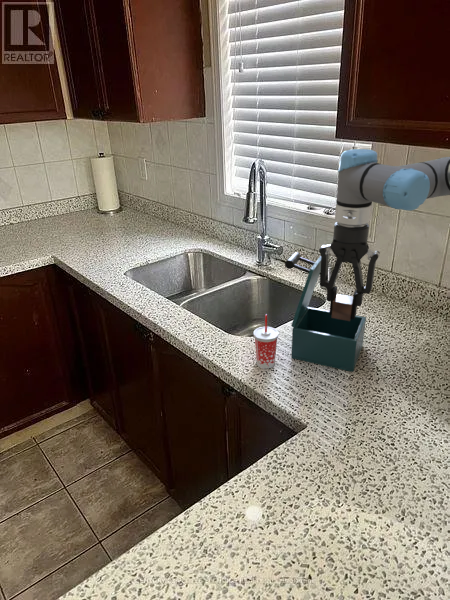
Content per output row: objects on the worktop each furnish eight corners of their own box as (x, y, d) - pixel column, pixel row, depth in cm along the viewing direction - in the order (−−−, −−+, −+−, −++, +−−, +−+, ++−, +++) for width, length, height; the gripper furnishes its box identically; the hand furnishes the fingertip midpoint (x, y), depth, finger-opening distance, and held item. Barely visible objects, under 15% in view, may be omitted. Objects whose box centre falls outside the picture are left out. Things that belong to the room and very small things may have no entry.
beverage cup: (282, 365, 112) (284, 316, 105) (263, 373, 109) (263, 323, 103) (268, 353, 116) (268, 306, 110) (248, 361, 114) (248, 313, 107)
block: (353, 313, 111) (355, 296, 109) (349, 321, 107) (351, 304, 105) (335, 309, 113) (337, 293, 111) (331, 317, 109) (332, 301, 107)
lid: (327, 252, 111) (299, 241, 113) (313, 270, 101) (283, 258, 103) (308, 305, 120) (282, 295, 122) (293, 327, 110) (266, 315, 112)
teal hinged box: (362, 346, 118) (366, 317, 114) (353, 372, 108) (356, 341, 104) (305, 334, 124) (306, 306, 120) (291, 358, 114) (292, 328, 110)
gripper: (308, 223, 100) (303, 314, 110) (390, 231, 93) (377, 328, 103) (317, 214, 106) (312, 302, 116) (395, 221, 99) (382, 314, 109)
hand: (342, 314), depth 110 cm, fingers closed on block, 4 cm apart
